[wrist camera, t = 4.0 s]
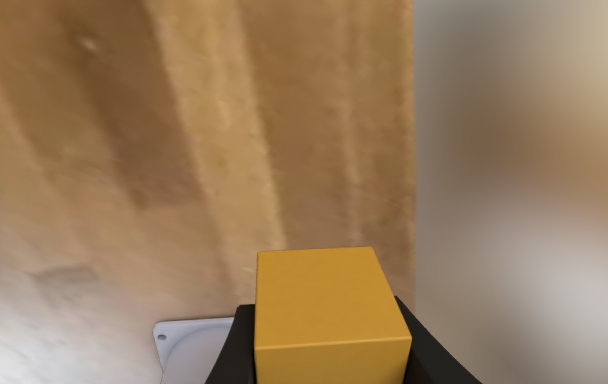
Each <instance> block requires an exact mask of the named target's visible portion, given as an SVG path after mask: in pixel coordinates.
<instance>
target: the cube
mask: <svg viewBox="0 0 608 384" xmlns="http://www.w3.org/2000/svg"><path fill="white" fill-rule="evenodd" d="M411 341H412V336H411V334H410V332H409V329H408V327H407V325H406V323H405V320H404V318H403V316H402V314H401V311H400V309H399V307H398V305H397V302H396V300H395V298H394V296H393V293H392V291H391V289H390V287H389V284H388V282H387V280H386V278H385V275H384V273H383V271H382V269H381V266H380V264H379V262H378V260H377V257H376V255H375V253H374V251H373V248H372V247H348V248H326V249H304V250H282V251H260V252H258V253H257V273H256V303H255V332H254V356H255V370H256V384H403V380H404V375H405V370H406V365H407V361H408V356H409V351H410V346H411Z"/></svg>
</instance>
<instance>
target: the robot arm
mask: <svg viewBox="0 0 608 384" xmlns="http://www.w3.org/2000/svg"><path fill="white" fill-rule="evenodd" d="M394 298H395V300H396V302H397V305H398V307H399V309H400V311H401V314H402V316H403V318H404V320H405V323H406V325H407V327H408V329H409V332H410V334H411V336H412V341H411V346H410V351H409V356H408V361H407V365H406V370H405V375H404V380H403V384H482V383H481V382H480V381H479V380H477V379H476V378H475V377H474V376H473V375H472V374H471V373H470V372H469V371H467V370H466V369H465V368H464V367H463V366H462V365H461V364H460V363H459V362H458V361H457V360H456V359H455V358H454V357H453V356H452V355H451V354H450V353H449V352H448V351H447V350H446V349H445V348H444V347H443V346H442V345H441V344H440V343H439V342H438V341H437V340H436V339H435V338H434V337H433V336H432V335H431V334H430V333H429V332H428V331H427V329H426V328H425V327H424V326H423V325H422V324H421V323H420V322H419V321H418V320H417V318H416V317H415V316H414V315H413V314H412V313H411V312H410V310H409V309H408V308H407V307H406V306H405V305H404V304H403V302H402V301H401V300H400V299H399V298H398V297H397V296H394ZM254 332H255V304H247V305H240V306H239V307H237V310H236V314H235V317H229V318H214V319H199V320H184V321H169V322H159V323H156V324H155V325H154V327H153V336H154V340H155V343H156V347H157V351H158V355H159V359H160V363H161V367H162V370H163V378H162V381H161V384H256V370H255V356H254ZM163 335H164V336H163Z"/></svg>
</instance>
